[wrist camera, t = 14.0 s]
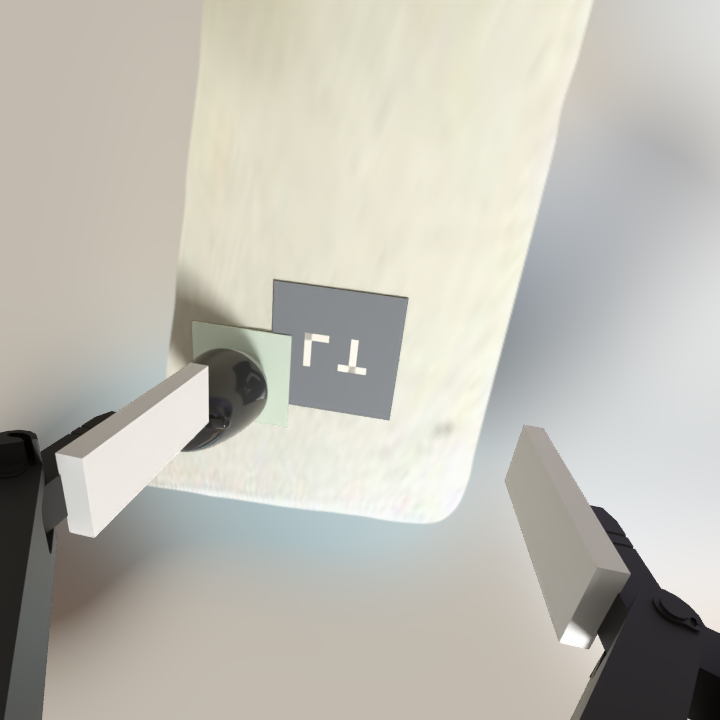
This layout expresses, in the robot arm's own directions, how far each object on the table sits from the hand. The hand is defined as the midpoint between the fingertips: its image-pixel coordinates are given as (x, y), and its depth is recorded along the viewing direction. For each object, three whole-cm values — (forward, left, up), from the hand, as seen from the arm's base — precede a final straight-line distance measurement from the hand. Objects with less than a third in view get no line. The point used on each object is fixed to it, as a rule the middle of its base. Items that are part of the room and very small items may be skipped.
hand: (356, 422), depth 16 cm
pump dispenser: (+13, -18, -30) cm, 38 cm away
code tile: (+8, -6, -31) cm, 32 cm away
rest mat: (+13, -18, -31) cm, 38 cm away
